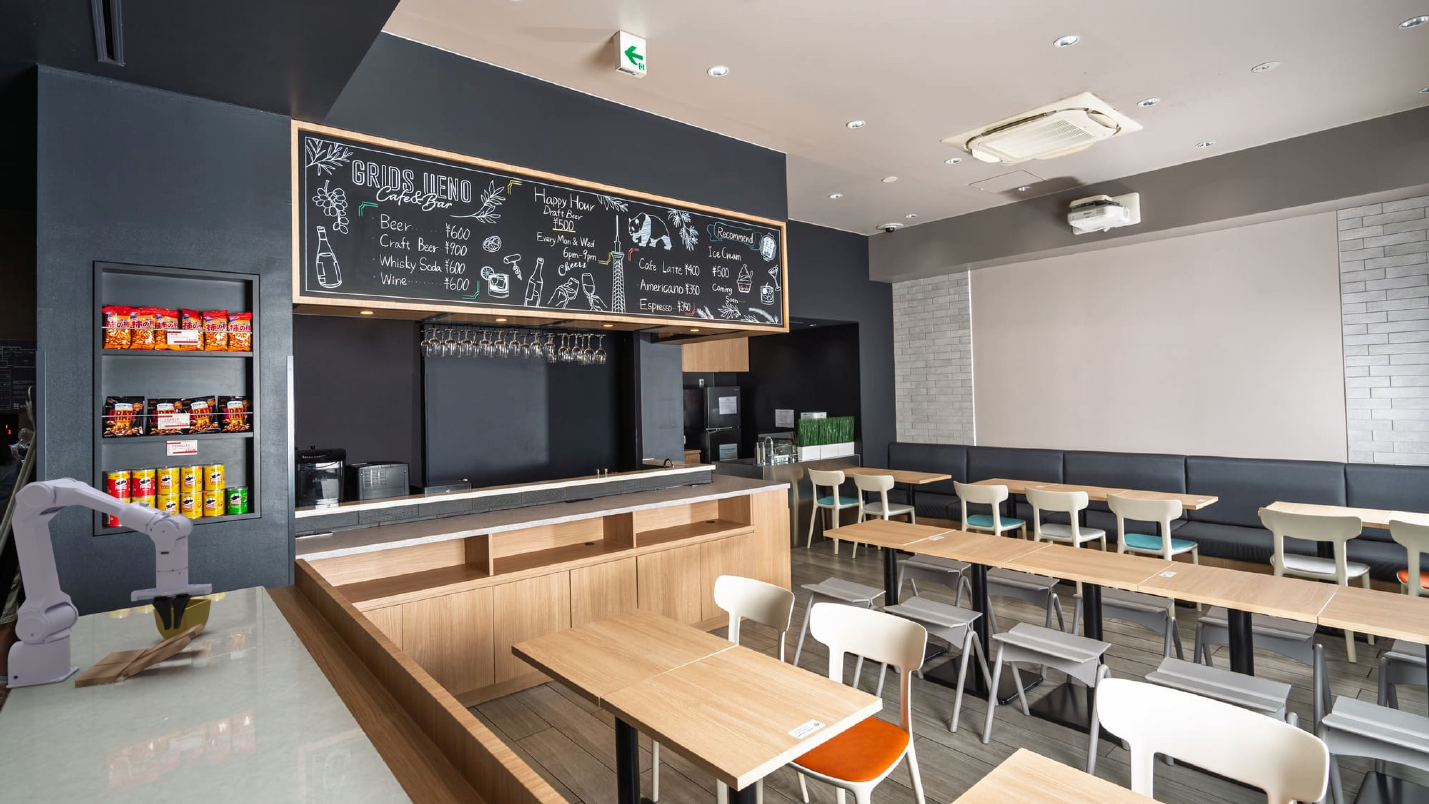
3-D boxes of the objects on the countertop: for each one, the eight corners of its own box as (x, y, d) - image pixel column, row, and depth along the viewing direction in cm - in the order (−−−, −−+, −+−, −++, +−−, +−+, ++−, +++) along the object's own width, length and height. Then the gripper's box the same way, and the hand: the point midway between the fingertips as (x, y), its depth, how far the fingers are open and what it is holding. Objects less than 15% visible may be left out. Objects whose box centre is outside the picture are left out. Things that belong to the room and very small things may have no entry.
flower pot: (186, 643, 173) (186, 608, 173) (152, 644, 173) (152, 608, 173) (212, 632, 181) (212, 598, 181) (180, 632, 182) (180, 598, 182)
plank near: (124, 679, 150) (120, 673, 150) (135, 669, 156) (131, 663, 155) (182, 649, 154) (179, 644, 154) (191, 641, 160) (187, 635, 159)
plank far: (141, 663, 159) (138, 657, 159) (151, 654, 165) (148, 649, 165) (196, 635, 163) (193, 630, 163) (204, 628, 169) (201, 622, 169)
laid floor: (74, 687, 146) (74, 680, 146) (111, 658, 163) (111, 652, 163) (122, 681, 149) (122, 674, 149) (153, 653, 166) (153, 647, 166)
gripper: (125, 576, 149) (125, 638, 149) (205, 569, 155) (205, 629, 155) (138, 569, 156) (138, 628, 156) (214, 562, 161) (214, 620, 161)
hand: (172, 628), depth 156 cm, fingers closed
